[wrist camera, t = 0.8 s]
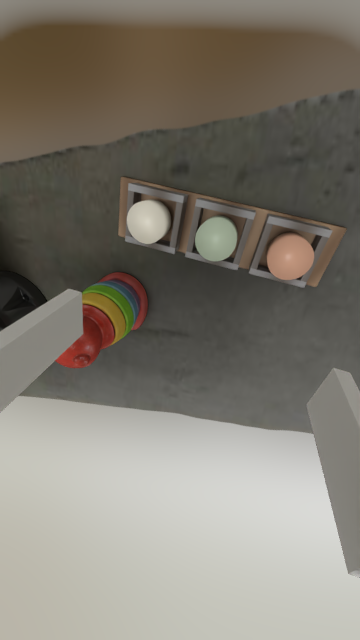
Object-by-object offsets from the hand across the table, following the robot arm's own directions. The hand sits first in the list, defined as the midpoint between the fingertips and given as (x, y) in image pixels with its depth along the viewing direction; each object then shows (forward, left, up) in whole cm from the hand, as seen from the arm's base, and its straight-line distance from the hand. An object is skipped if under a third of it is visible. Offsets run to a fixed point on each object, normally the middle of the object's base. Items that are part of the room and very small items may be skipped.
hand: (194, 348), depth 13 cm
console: (-2, +1, -27) cm, 27 cm away
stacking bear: (-16, -14, -27) cm, 34 cm away
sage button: (-2, +1, -23) cm, 23 cm away
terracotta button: (+7, +1, -23) cm, 24 cm away
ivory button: (-11, +1, -23) cm, 26 cm away
